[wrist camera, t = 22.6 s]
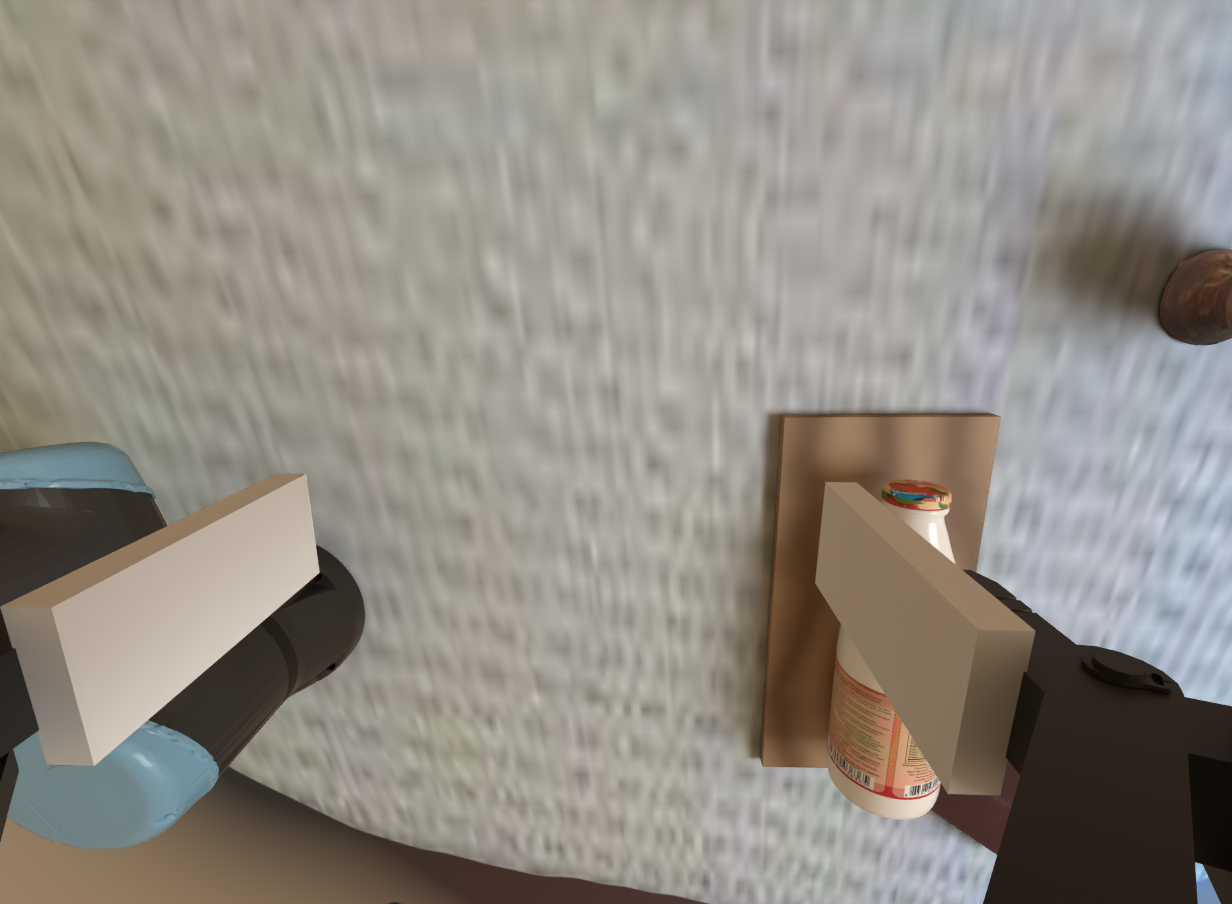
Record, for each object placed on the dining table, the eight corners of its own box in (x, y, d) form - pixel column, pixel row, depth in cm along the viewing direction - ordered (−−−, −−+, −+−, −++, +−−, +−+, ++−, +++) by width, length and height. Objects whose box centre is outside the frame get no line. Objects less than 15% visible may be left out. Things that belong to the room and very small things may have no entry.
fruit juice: (819, 800, 51) (849, 498, 43) (829, 729, 59) (856, 465, 52) (941, 840, 47) (996, 516, 40) (934, 759, 55) (978, 478, 48)
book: (1137, 718, 57) (1166, 743, 54) (993, 839, 62) (1012, 868, 59) (1046, 649, 56) (1071, 670, 53) (905, 778, 60) (920, 804, 57)
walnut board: (760, 757, 60) (762, 766, 58) (781, 414, 50) (784, 417, 49) (937, 760, 59) (944, 770, 58) (992, 413, 50) (1000, 416, 49)
